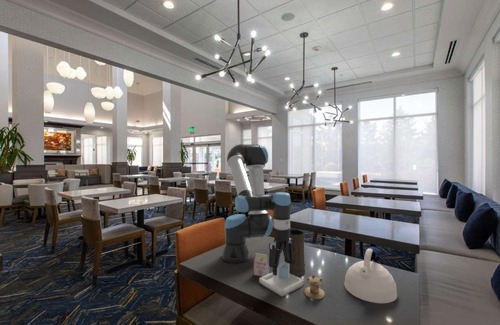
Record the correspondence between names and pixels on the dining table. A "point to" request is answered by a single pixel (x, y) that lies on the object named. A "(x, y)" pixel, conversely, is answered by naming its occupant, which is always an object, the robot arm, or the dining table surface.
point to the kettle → (370, 280)
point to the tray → (281, 284)
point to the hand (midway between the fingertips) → (281, 279)
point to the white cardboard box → (261, 265)
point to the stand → (314, 288)
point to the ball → (283, 271)
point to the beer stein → (297, 253)
